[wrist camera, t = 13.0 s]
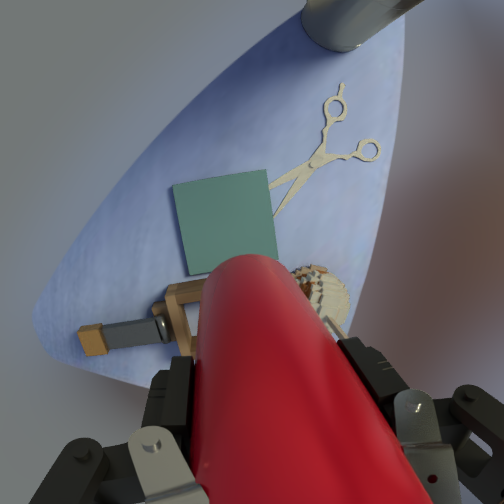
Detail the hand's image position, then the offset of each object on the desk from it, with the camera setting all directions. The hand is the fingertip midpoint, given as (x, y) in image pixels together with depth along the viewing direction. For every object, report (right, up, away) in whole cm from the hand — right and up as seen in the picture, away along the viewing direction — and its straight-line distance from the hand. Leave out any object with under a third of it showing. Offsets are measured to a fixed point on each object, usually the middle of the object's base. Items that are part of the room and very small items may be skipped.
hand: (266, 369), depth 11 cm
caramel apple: (+7, -1, +30) cm, 31 cm away
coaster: (-4, +8, +26) cm, 28 cm away
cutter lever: (-17, -6, +25) cm, 31 cm away
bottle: (-1, +2, +6) cm, 7 cm away
